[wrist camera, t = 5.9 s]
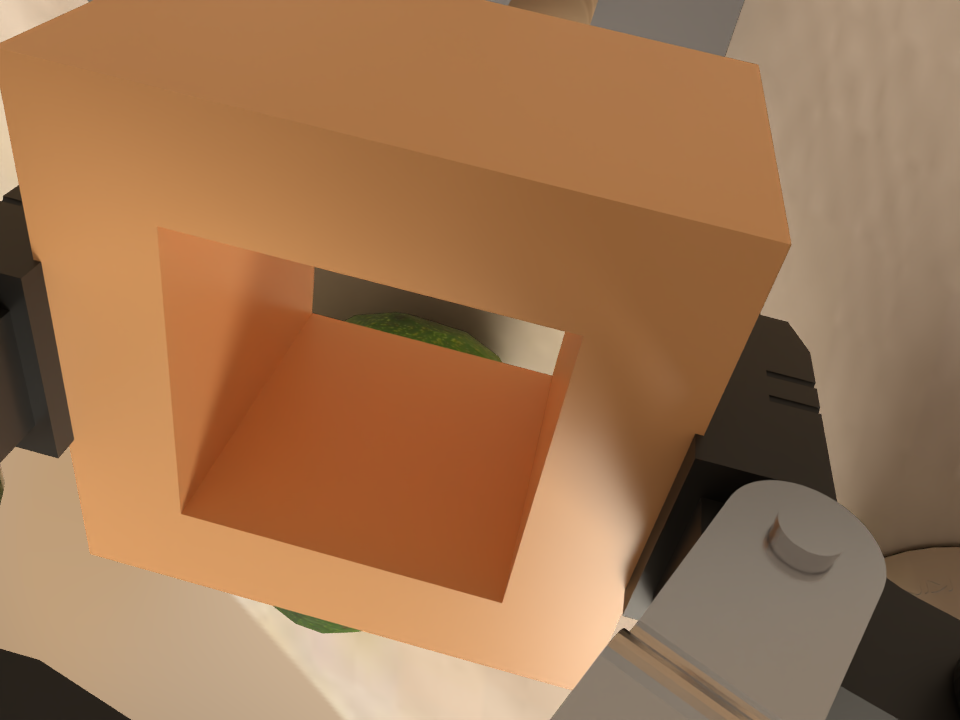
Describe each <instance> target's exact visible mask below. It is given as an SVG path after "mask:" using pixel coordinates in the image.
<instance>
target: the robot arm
mask: <svg viewBox="0 0 960 720" xmlns="http://www.w3.org/2000/svg"><path fill="white" fill-rule="evenodd" d="M814 385H815V377H814V372H813V366H812V361H811V355H810V352H809V350H808V349H807V348H806V346H805V345H804V344H803V342H802V341H801V340H800V338H799V337H798V335H797V334H796V333H795V331H794V330H793V329H792V327H791V326H790V324H789V323H788V322H786V321H782V320H778V319H774V318H770V317H766V316H762V315H760V314H759V316H758V318H757V321H756V323H755V325H754V327H753V329H752V332H751V334H750V336H749V338H748V340H747V342H746V345H745V347H744V349H743V351H742V353H741V356H740V358H739V360H738V362H737V364H736V366H735V369H734V371H733V373H732V375H731V377H730V379H729V382H728V384H727V386H726V388H725V390H724V393H723V395H722V397H721V399H720V401H719V403H718V406H717V408H716V410H715V412H714V414H713V416H712V419H711V421H710V423H709V425H708V427H707V430H706V432H705V434H704V436H703V435H699V434H695V435H694V438H693V440H692V442H691V444H690V447H689V449H688V451H687V453H686V455H685V458H684V460H683V462H682V464H681V467H680V469H679V471H678V473H677V475H676V478H675V480H674V482H673V484H672V487H671V489H670V491H669V493H668V496H667V498H666V500H665V502H664V504H663V507H662V509H661V511H660V513H659V516H658V518H657V520H656V522H655V524H654V527H653V529H652V531H651V533H650V536H649V538H648V540H647V542H646V544H645V547H644V549H643V551H642V553H641V556H640V558H639V560H638V562H637V565H636V567H635V569H634V571H633V573H632V576H631V578H630V580H629V582H628V585H627V587H626V589H625V592H624V604H623V616H625V617H628V618H632V619H636V620H638V622H637V623H636V624H635V626H634V627H633V628H632V629H631V630H630V631H628V630H626V629H625V628H623V629H622V630H620V631H619V632H618V633H617V634H616V635H615V636H614V637H613V638H612V640H611V641H610V642H609V643H608V644H607V646H606V647H605V648H604V649H603V651H602V652H601V653H600V655H599V656H598V657H597V659H596V660H595V661H594V663H593V664H592V665H591V666H590V668H589V669H588V670H587V672H586V673H585V674H584V676H583V677H582V678H581V680H580V681H579V682H578V684H577V685H576V686H575V688H574V689H573V690H572V692H571V693H570V694H569V695H568V697H567V698H566V699H565V701H564V702H563V703H562V705H561V706H560V707H559V709H558V710H557V711H556V713H555V714H554V715H553V717H552V718H551V719H550V720H960V547H939V548H927V549H920V550H914V551H907V552H903V553H900V554H896V555H893V556H889V557H886V558H884V557H883V554H882V552H881V549H880V547H879V545H878V544H877V542H876V540H875V539H874V537H873V535H872V534H871V533H870V532H869V530H868V529H867V528H866V527H865V525H864V524H863V523H862V522H861V521H860V520H859V519H858V518H857V517H856V516H855V515H854V514H852V513H851V512H850V511H849V510H847V509H846V508H845V507H844V506H842V505H841V504H839V503H838V502H837V499H836V494H835V488H834V483H833V477H832V472H831V466H830V460H829V455H828V449H827V444H826V438H825V433H824V427H823V422H822V416H821V414H818V413H819V409H820V405H819V400H818V394H817V389H815V388H814ZM73 441H74V435H73V430H72V425H71V419H70V414H69V408H68V403H67V398H66V392H65V387H64V382H63V376H62V371H61V366H60V360H59V355H58V349H57V344H56V339H55V333H54V328H53V323H52V317H51V312H50V307H49V301H48V296H47V291H46V285H45V280H44V274H43V269H42V264H41V262H40V261H36V260H33V255H32V250H31V244H30V239H29V234H28V229H27V224H26V218H25V213H24V208H23V203H22V198H21V193H20V187H19V185H18V186H17V187H15V188H14V189H13V190H11V191H10V192H8V193H7V194H5V195H4V196H3V200H2V201H0V462H1V461H2V460H3V459H4V458H5V457H6V456H7V455H8V454H9V453H10V452H11V451H12V450H13V448H14V447H19V448H23V449H27V450H30V451H34V452H37V453H41V454H44V455H48V456H52V457H56V458H59V457H60V456H61V455H62V453H63V452H64V451H65V450H66V449H67V447H69V445H70V444H71V443H72V442H73ZM3 491H4V477H3V473H2V469H1V465H0V503H1V499H2V495H3ZM0 720H131V719H129V718H127V717H126V716H124V715H123V714H121V713H120V712H118V711H117V710H115V709H114V708H112V707H111V706H109V705H107V704H106V703H105V702H103V701H101V700H100V699H98V698H97V697H95V696H94V695H92V694H90V693H89V692H88V691H86V690H84V689H83V688H81V687H80V686H78V685H76V684H75V683H74V682H72V681H70V680H69V679H68V678H66V677H64V676H63V675H61V674H60V673H58V672H57V671H55V670H53V669H52V668H51V667H49V666H48V665H46V664H45V663H43V662H42V661H40V660H37V659H34V658H30V657H27V656H23V655H20V654H16V653H13V652H10V651H6V650H3V649H0Z"/></svg>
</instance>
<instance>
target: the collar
mask: <svg viewBox="0 0 960 720" xmlns="http://www.w3.org/2000/svg"><path fill="white" fill-rule="evenodd" d="M0 89H1V94H2V99H3V104H4V110H5V115H6V120H7V125H8V130H9V135H10V141H11V146H12V151H13V156H14V161H15V167H16V172H17V177H18V182H19V187H20V193H21V198H22V203H23V208H24V213H25V218H26V224H27V229H28V234H29V239H30V244H31V250H32V255H33V260H36V261H40V262H41V264H42V269H43V274H44V280H45V285H46V291H47V296H48V301H49V307H50V312H51V317H52V323H53V328H54V333H55V339H56V344H57V349H58V355H59V360H60V366H61V371H62V376H63V382H64V387H65V392H66V398H67V403H68V408H69V414H70V419H71V425H72V430H73V435H74V441H73V442H72V443H71V444H70V445H69V447H70V452H71V457H72V461H73V467H74V472H75V478H76V483H77V488H78V493H79V499H80V504H81V508H82V514H83V519H84V525H85V530H86V535H87V540H88V545H89V550H90V554H92V555H96V556H99V557H103V558H106V559H110V560H113V561H117V562H121V563H124V564H128V565H131V566H135V567H138V568H142V569H145V570H149V571H152V572H156V573H159V574H163V575H167V576H170V577H174V578H177V579H181V580H184V581H188V582H191V583H195V584H198V585H202V586H205V587H209V588H213V589H216V590H220V591H223V592H227V593H230V594H234V595H237V596H241V597H244V598H248V599H251V600H255V601H258V602H262V603H265V604H269V605H272V606H276V607H280V608H283V609H287V610H290V611H294V612H297V613H301V614H304V615H308V616H311V617H315V618H318V619H322V620H326V621H329V622H333V623H336V624H340V625H343V626H347V627H350V628H354V629H357V630H361V631H364V632H368V633H372V634H375V635H379V636H382V637H386V638H389V639H393V640H396V641H400V642H403V643H407V644H410V645H414V646H417V647H421V648H425V649H428V650H432V651H435V652H439V653H442V654H446V655H449V656H453V657H456V658H460V659H463V660H467V661H471V662H474V663H478V664H481V665H485V666H488V667H492V668H495V669H499V670H502V671H506V672H509V673H513V674H517V675H520V676H524V677H527V678H531V679H534V680H538V681H541V682H545V683H548V684H552V685H555V686H559V687H562V688H566V689H570V690H573V689H574V688H575V686H576V685H577V684H578V682H579V681H580V680H581V678H582V677H583V676H584V674H585V673H586V672H587V670H588V669H589V668H590V666H591V665H592V664H593V663H594V661H595V660H596V659H597V657H598V656H599V655H600V653H601V652H602V651H603V649H604V648H605V647H606V646H607V644H608V643H609V641H610V639H611V636H612V634H613V632H614V630H615V628H616V626H617V623H618V621H619V619H620V617H621V615H622V612H623V604H624V592H625V589H626V587H627V585H628V582H629V580H630V578H631V576H632V573H633V571H634V569H635V567H636V565H637V562H638V560H639V558H640V556H641V553H642V551H643V549H644V547H645V544H646V542H647V540H648V538H649V536H650V533H651V531H652V529H653V527H654V524H655V522H656V520H657V518H658V516H659V513H660V511H661V509H662V507H663V504H664V502H665V500H666V498H667V496H668V493H669V491H670V489H671V487H672V484H673V482H674V480H675V478H676V475H677V473H678V471H679V469H680V467H681V464H682V462H683V460H684V458H685V455H686V453H687V451H688V449H689V447H690V444H691V442H692V440H693V438H694V435H695V434H699V435H703V436H704V434H705V432H706V430H707V427H708V425H709V423H710V421H711V419H712V416H713V414H714V412H715V410H716V408H717V406H718V403H719V401H720V399H721V397H722V395H723V393H724V390H725V388H726V386H727V384H728V382H729V379H730V377H731V375H732V373H733V371H734V369H735V366H736V364H737V362H738V360H739V358H740V356H741V353H742V351H743V349H744V347H745V345H746V342H747V340H748V338H749V336H750V334H751V332H752V329H753V327H754V325H755V323H756V321H757V318H758V316H759V314H760V312H761V310H762V308H763V305H764V303H765V301H766V299H767V297H768V295H769V292H770V290H771V288H772V286H773V284H774V281H775V279H776V277H777V275H778V273H779V271H780V268H781V266H782V264H783V262H784V260H785V258H786V255H787V253H788V251H789V249H790V247H791V239H790V234H789V228H788V223H787V218H786V212H785V207H784V201H783V196H782V190H781V185H780V179H779V174H778V168H777V163H776V157H775V152H774V147H773V141H772V136H771V130H770V125H769V119H768V114H767V108H766V103H765V97H764V92H763V86H762V81H761V76H760V70H759V65H757V64H753V63H749V62H744V61H740V60H736V59H732V58H727V57H723V56H719V55H715V54H710V53H706V52H702V51H698V50H693V49H689V48H685V47H681V46H676V45H672V44H668V43H664V42H660V41H655V40H651V39H647V38H643V37H638V36H634V35H630V34H626V33H621V32H617V31H613V30H609V29H604V28H600V27H596V26H592V25H587V24H583V23H579V22H575V21H571V20H566V19H562V18H558V17H554V16H549V15H545V14H541V13H537V12H532V11H528V10H524V9H520V8H515V7H511V6H507V5H503V4H498V3H494V2H490V1H486V0H93V1H91V2H89V3H87V4H84V5H82V6H80V7H78V8H76V9H73V10H71V11H69V12H67V13H65V14H63V15H60V16H58V17H56V18H54V19H52V20H49V21H47V22H45V23H43V24H41V25H38V26H36V27H34V28H32V29H30V30H27V31H25V32H23V33H21V34H19V35H17V36H14V37H12V38H10V39H8V40H6V41H3V42H1V43H0ZM314 267H317V268H321V269H325V270H329V271H333V272H336V273H340V274H344V275H348V276H352V277H356V278H360V279H364V280H367V281H371V282H375V283H379V284H383V285H387V286H391V287H395V288H399V289H402V290H406V291H410V292H414V293H418V294H422V295H426V296H430V297H433V298H437V299H441V300H445V301H449V302H453V303H457V304H461V305H464V306H468V307H472V308H476V309H480V310H484V311H488V312H492V313H495V314H499V315H503V316H507V317H511V318H515V319H519V320H523V321H527V322H530V323H534V324H538V325H542V326H546V327H550V328H554V329H558V330H561V331H565V334H564V337H563V341H562V344H561V348H560V351H559V355H558V358H557V362H556V365H555V369H554V372H553V376H551V375H548V374H544V373H540V372H536V371H532V370H528V369H525V368H521V367H517V366H513V365H509V364H505V363H502V362H498V361H494V360H490V359H486V358H482V357H479V356H475V355H471V354H467V353H463V352H459V351H456V350H452V349H448V348H444V347H440V346H437V345H433V344H429V343H425V342H421V341H417V340H414V339H410V338H406V337H402V336H398V335H394V334H391V333H387V332H383V331H379V330H375V329H371V328H368V327H364V326H360V325H356V324H352V323H348V322H345V321H341V320H337V319H333V318H329V317H325V316H322V315H318V314H314V313H312V306H313V286H314Z"/></svg>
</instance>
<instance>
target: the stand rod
mask: <svg viewBox="0 0 960 720" xmlns="http://www.w3.org/2000/svg"><path fill="white" fill-rule="evenodd" d="M597 2H598V0H511V1H510V3H509V5H508V6H511V7H515V8H520V9H524V10H528V11H532V12H537V13H541V14H545V15H549V16H554V17H558V18H562V19H566V20H571V21H575V22H579V23H583V24H587V25H590V23H591V20H592V17H593V14H594V11H595V8H596V5H597Z"/></svg>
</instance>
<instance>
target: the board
mask: <svg viewBox="0 0 960 720" xmlns="http://www.w3.org/2000/svg"><path fill="white" fill-rule="evenodd" d="M486 1H490V2H494V3H498V4H503V5H507V6H508V5H509V3H510V1H511V0H486ZM743 3H744V0H598V2H597V5H596V8H595V11H594V14H593V17H592V20H591V23H590V25H592V26H596V27H600V28H604V29H609V30H613V31H617V32H621V33H626V34H630V35H634V36H638V37H643V38H647V39H651V40H655V41H660V42H664V43H668V44H672V45H676V46H681V47H685V48H689V49H693V50H698V51H702V52H706V53H710V54H715V55H719V56H723V57H725V55H726V52H727V49H728V46H729V43H730V40H731V37H732V35H733V32H734V29H735V26H736V23H737V20H738V17H739V15H740V12H741V9H742V6H743Z"/></svg>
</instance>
